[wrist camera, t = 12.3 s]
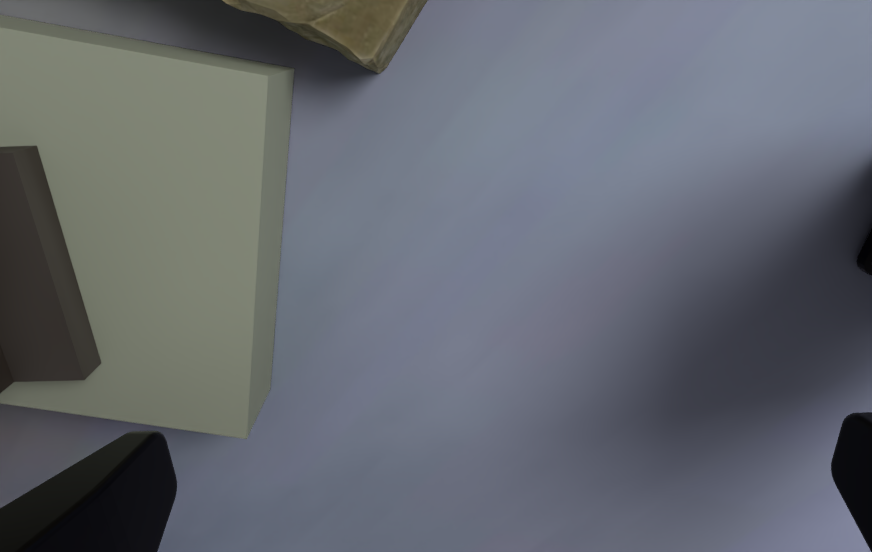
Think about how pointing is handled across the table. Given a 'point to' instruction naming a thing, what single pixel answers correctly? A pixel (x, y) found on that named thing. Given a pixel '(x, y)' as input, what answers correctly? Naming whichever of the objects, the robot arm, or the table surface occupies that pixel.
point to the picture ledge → (157, 217)
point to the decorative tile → (345, 24)
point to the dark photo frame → (37, 282)
